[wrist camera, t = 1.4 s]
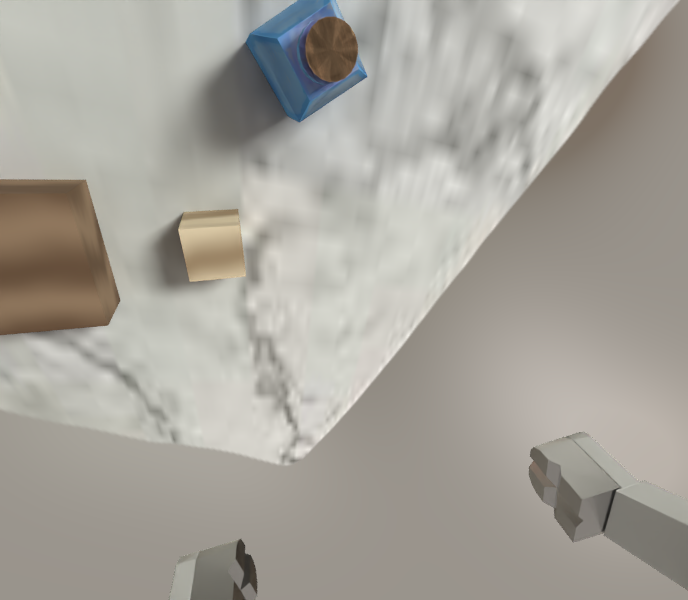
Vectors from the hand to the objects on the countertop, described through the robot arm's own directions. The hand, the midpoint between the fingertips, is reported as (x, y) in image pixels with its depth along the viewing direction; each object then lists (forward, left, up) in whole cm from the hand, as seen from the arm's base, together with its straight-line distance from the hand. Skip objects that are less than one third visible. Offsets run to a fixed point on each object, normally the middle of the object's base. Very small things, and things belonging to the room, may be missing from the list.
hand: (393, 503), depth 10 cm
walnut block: (+4, -22, -32) cm, 39 cm away
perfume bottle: (-11, +3, -32) cm, 34 cm away
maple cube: (+4, -6, -32) cm, 33 cm away
